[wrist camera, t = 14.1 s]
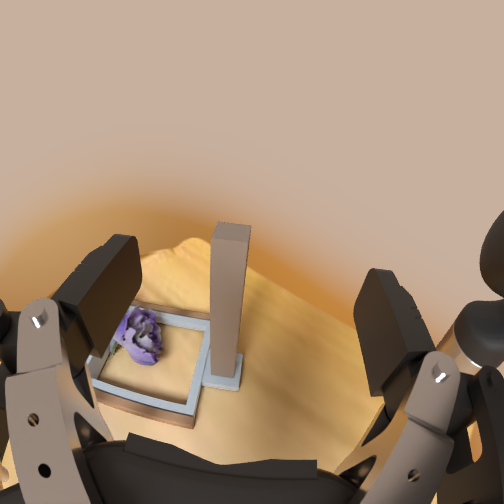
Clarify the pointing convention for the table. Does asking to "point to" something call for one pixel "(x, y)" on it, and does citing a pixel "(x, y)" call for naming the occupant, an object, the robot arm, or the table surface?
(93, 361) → the frame with upright post
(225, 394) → the table surface
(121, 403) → the frame
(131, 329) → the flower
